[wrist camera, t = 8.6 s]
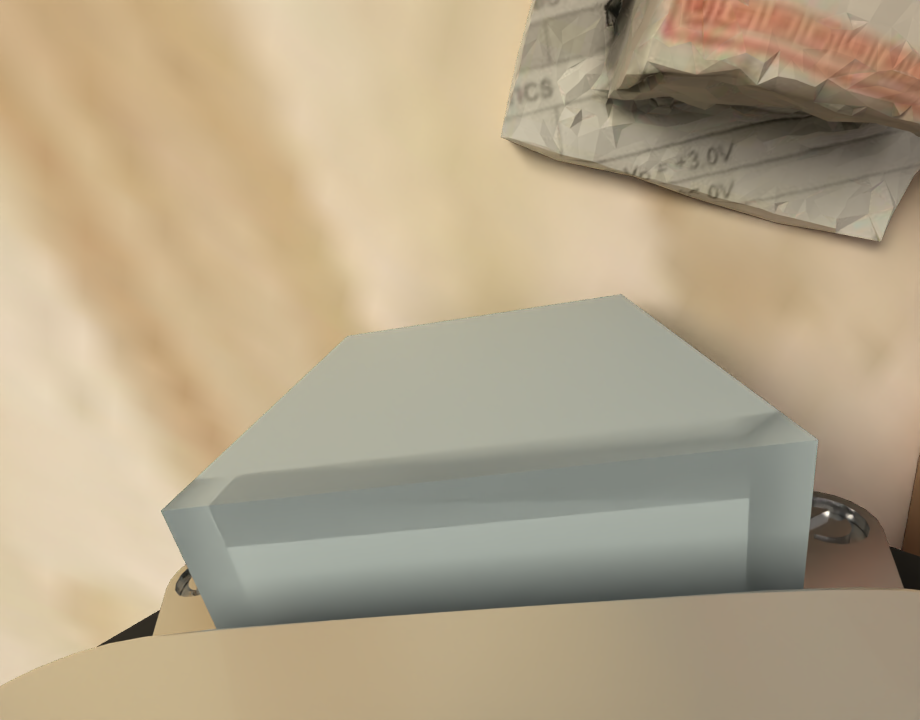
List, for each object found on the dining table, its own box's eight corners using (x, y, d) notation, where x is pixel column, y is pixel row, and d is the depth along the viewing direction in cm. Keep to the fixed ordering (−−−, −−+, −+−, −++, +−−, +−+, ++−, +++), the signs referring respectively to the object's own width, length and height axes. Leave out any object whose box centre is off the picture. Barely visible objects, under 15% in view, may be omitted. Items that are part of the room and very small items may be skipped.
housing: (347, 335, 12) (160, 511, 5) (621, 294, 11) (817, 439, 4) (403, 548, 14) (324, 857, 7) (634, 527, 13) (776, 856, 7)
